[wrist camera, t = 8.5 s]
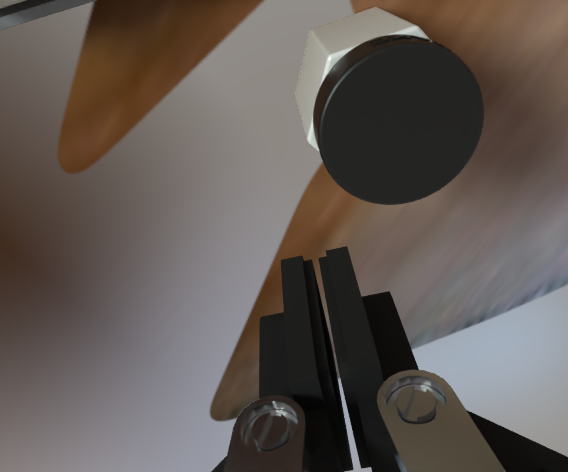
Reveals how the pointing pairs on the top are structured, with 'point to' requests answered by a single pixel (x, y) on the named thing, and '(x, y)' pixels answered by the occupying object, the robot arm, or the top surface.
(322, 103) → the jar
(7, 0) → the paddle on
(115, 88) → the top surface
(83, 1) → the breaker panel
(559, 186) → the top surface
